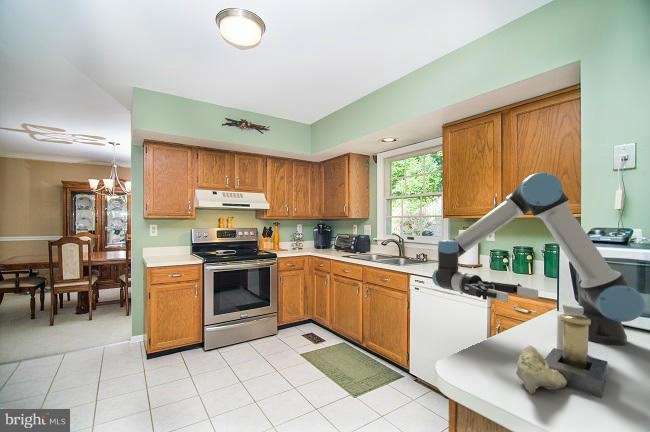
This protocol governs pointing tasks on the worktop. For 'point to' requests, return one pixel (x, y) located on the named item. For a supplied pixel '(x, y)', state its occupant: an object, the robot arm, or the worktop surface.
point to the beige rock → (537, 371)
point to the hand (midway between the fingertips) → (522, 296)
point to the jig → (581, 373)
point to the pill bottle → (567, 310)
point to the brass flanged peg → (575, 340)
